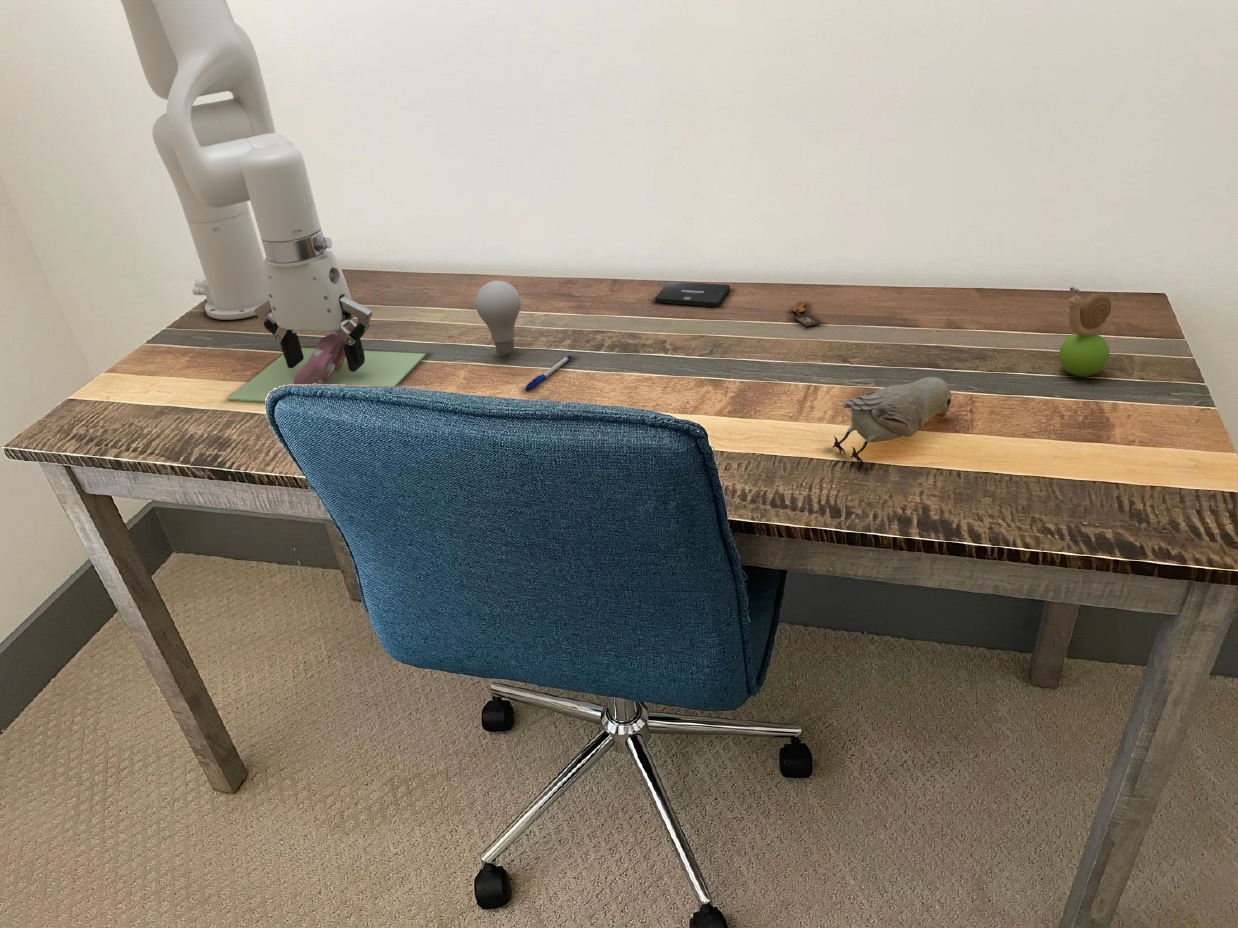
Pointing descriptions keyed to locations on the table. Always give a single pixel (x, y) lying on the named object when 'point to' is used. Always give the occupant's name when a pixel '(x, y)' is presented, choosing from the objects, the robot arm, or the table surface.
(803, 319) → the key tag
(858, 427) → the decorative bird
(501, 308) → the lightbulb
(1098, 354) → the snail figurine
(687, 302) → the solid state drive
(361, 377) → the desk mat
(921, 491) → the table surface
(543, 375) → the ballpoint pen
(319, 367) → the video game controller
